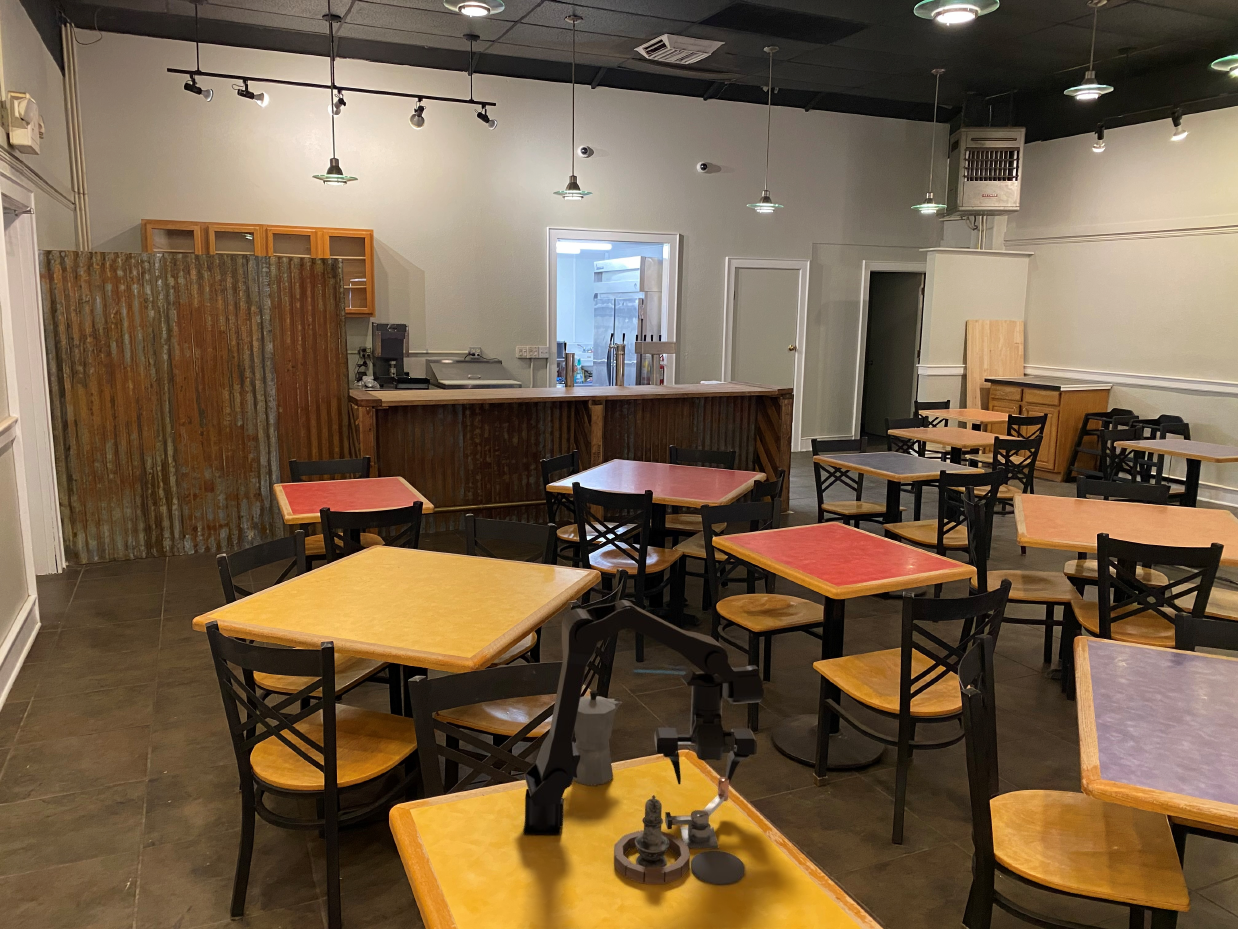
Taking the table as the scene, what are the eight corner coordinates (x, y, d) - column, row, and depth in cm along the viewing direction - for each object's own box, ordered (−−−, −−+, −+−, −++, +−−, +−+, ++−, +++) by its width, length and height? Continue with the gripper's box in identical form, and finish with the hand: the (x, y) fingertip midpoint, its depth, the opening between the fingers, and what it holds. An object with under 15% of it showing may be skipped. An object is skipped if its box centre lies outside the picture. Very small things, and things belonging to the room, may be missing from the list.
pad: (694, 885, 141) (694, 881, 140) (687, 853, 149) (687, 850, 149) (749, 885, 141) (749, 881, 141) (739, 853, 150) (739, 850, 150)
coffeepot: (608, 759, 184) (610, 677, 182) (630, 778, 176) (633, 693, 174) (542, 774, 176) (543, 689, 174) (562, 795, 168) (564, 706, 166)
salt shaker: (669, 853, 149) (671, 787, 148) (668, 873, 144) (670, 805, 142) (635, 850, 150) (637, 785, 148) (632, 870, 144) (634, 802, 143)
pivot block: (684, 848, 151) (684, 835, 151) (680, 830, 157) (680, 817, 157) (718, 848, 151) (718, 835, 151) (713, 830, 157) (713, 817, 157)
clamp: (659, 826, 152) (660, 804, 152) (698, 790, 166) (699, 769, 165) (695, 839, 149) (696, 816, 148) (732, 801, 162) (733, 779, 162)
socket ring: (615, 883, 140) (615, 872, 140) (613, 840, 153) (613, 830, 152) (692, 884, 141) (693, 872, 140) (684, 841, 153) (684, 830, 153)
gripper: (660, 722, 154) (657, 805, 156) (764, 723, 154) (760, 806, 156) (655, 697, 165) (653, 775, 167) (752, 699, 165) (749, 776, 167)
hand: (703, 783), depth 164 cm, fingers open, 9 cm apart
